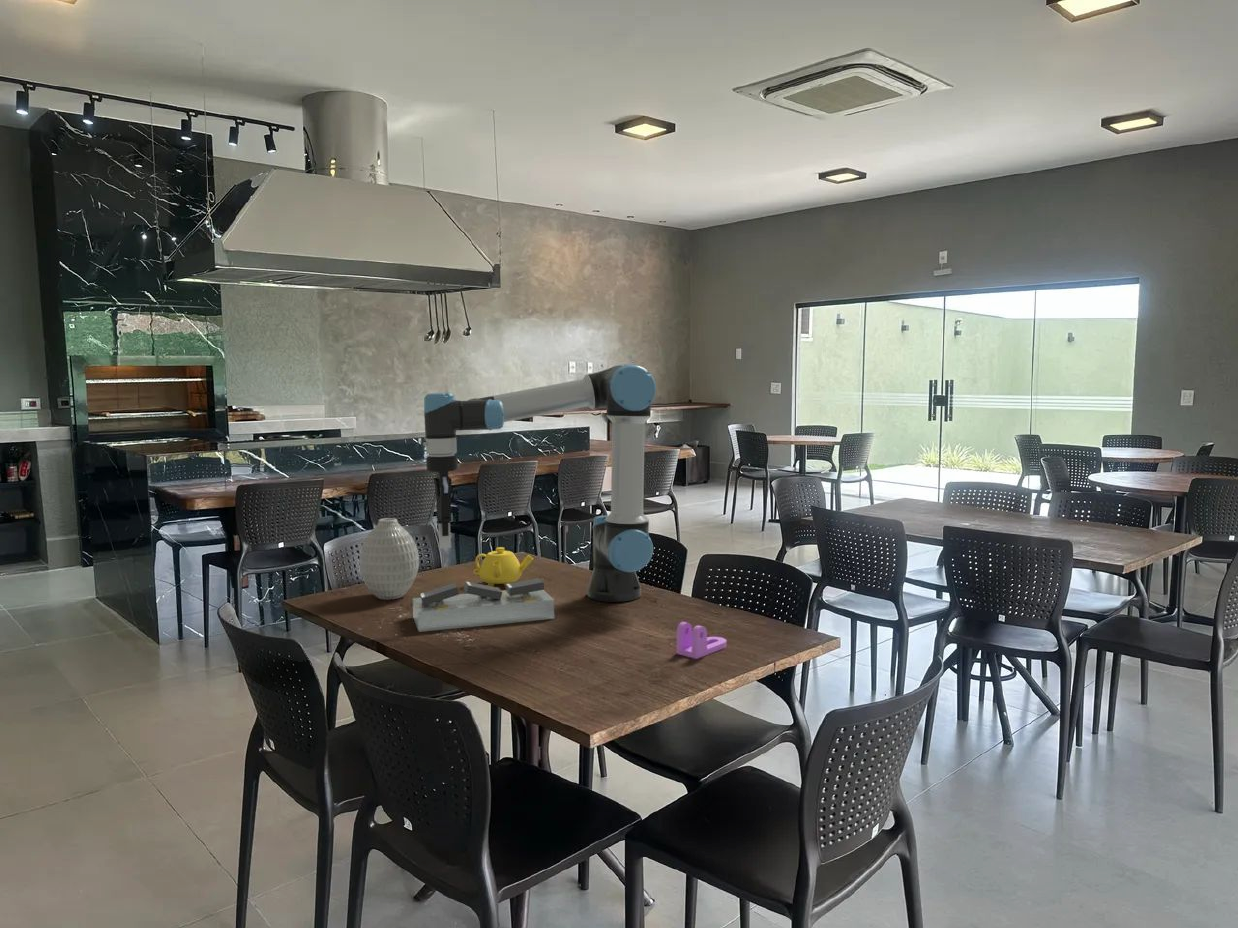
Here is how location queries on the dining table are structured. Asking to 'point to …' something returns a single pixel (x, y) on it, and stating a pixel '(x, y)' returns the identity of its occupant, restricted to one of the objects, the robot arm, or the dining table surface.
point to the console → (482, 610)
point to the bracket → (697, 641)
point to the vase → (389, 560)
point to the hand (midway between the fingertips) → (445, 547)
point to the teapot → (500, 567)
